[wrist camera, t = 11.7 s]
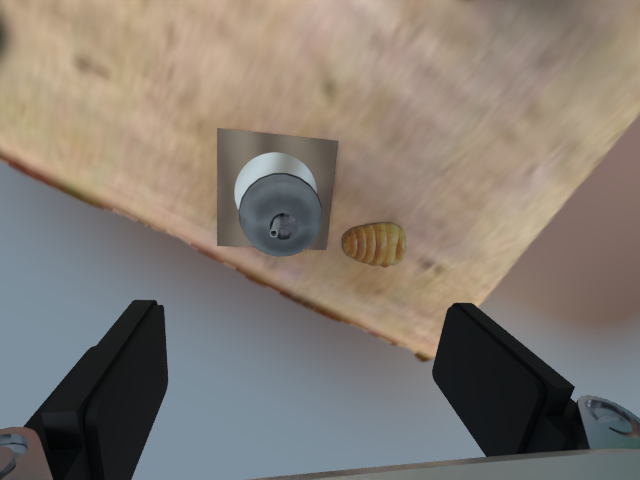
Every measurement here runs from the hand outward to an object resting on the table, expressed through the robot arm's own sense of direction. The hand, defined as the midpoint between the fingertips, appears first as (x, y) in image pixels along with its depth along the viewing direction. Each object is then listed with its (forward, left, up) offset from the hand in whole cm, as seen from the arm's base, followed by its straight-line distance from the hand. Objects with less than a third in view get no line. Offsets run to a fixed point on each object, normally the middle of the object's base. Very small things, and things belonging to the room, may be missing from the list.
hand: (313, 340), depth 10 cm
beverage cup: (0, 0, -30) cm, 30 cm away
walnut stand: (0, 0, -35) cm, 35 cm away
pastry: (-15, +8, -36) cm, 39 cm away
